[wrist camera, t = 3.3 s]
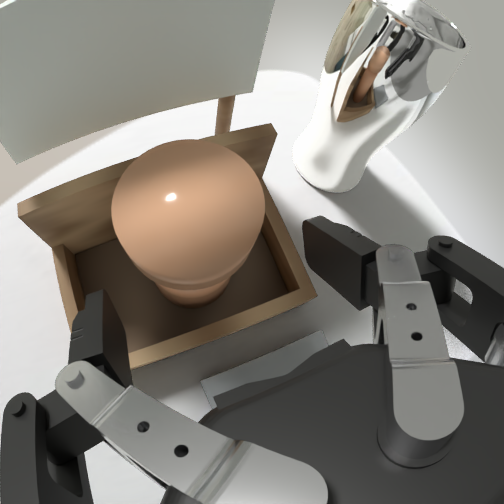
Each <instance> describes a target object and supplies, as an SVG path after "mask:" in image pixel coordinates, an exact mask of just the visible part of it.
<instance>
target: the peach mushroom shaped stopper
mask: <svg viewBox="0 0 504 504" xmlns="http://www.w3.org/2000/svg"><path fill="white" fill-rule="evenodd" d="M111 213H112V222H113V227H114V230H115V233H116V235H117V237H118V239H119V241H120V243H121V245H122V246H123V248H124V249H125V251H126V253H127V254H128V256H129V257H130V259H131V260H132V262H133V263H134V265H135V266H136V267H137V268H138V269H139V270H140V271H141V272H142V273H143V274H144V275H145V276H146V277H148V278H149V279H150V280H152V281H154V282H155V284H156V286H157V287H158V289H159V291H160V292H161V294H162V295H163V296H164V297H165V298H166V299H167V300H169V301H170V302H172V303H173V304H175V305H178V306H180V307H184V308H200V307H204V306H207V305H209V304H211V303H212V302H214V301H216V300H217V299H218V298H219V297H220V296H221V295H222V294H223V292H224V291H225V289H226V287H227V286H228V283H229V280H230V278H231V275H233V274H234V273H235V272H236V271H237V270H238V269H239V268H240V267H241V266H242V265H243V263H244V262H245V261H246V259H247V258H248V256H249V254H250V252H251V250H252V248H253V245H254V243H255V241H256V239H257V237H258V235H259V233H260V230H261V227H262V224H263V220H264V215H265V199H264V193H263V189H262V186H261V184H260V181H259V179H258V177H257V175H256V174H255V172H254V171H253V169H252V168H251V167H250V165H249V164H248V163H247V162H246V161H245V160H244V159H243V158H241V157H240V156H239V155H238V154H236V153H235V152H233V151H231V150H230V149H228V148H226V147H224V146H221V145H219V144H216V143H213V142H208V141H204V140H194V139H187V140H176V141H172V142H167V143H164V144H161V145H158V146H156V147H154V148H152V149H150V150H148V151H147V152H145V153H143V154H142V155H140V156H139V157H138V158H137V159H135V160H134V161H133V162H132V163H131V164H130V165H129V166H128V168H127V169H126V170H125V171H124V173H123V174H122V176H121V178H120V179H119V181H118V183H117V186H116V188H115V191H114V195H113V198H112V206H111Z"/></svg>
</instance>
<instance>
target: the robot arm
mask: <svg viewBox="0 0 504 504" xmlns="http://www.w3.org/2000/svg"><path fill="white" fill-rule="evenodd" d="M302 230H303V240H304V250H305V258H306V261H307V263H308V265H309V267H310V268H311V269H312V270H313V271H314V272H315V273H316V274H318V275H319V276H320V277H321V278H322V279H323V280H325V281H326V282H327V283H328V284H329V285H330V286H332V287H333V288H334V289H335V290H336V291H337V292H338V293H340V294H341V295H342V296H343V297H344V298H345V299H346V300H348V301H349V302H350V303H351V304H352V305H353V306H354V307H356V308H357V309H358V310H359V311H360V310H362V309H364V308H366V307H368V306H370V305H371V306H372V307H373V308H372V328H373V344H361V345H356V346H350V345H349V344H348V343H347V342H346V341H345V340H344V339H342V340H340V341H338V342H336V343H334V344H332V345H330V346H328V347H326V348H324V349H322V350H320V351H318V352H316V353H314V354H313V355H312V356H310V357H309V358H308V359H306V360H305V361H304V362H303V363H301V364H300V365H299V366H297V367H296V368H295V369H294V370H292V371H291V372H290V373H288V374H286V375H283V376H279V377H275V378H270V379H265V380H261V381H256V382H251V383H246V384H244V385H241V386H239V387H236V388H234V389H231V390H229V391H226V392H224V393H221V394H218V395H216V396H213V398H214V401H215V403H216V405H217V407H215V408H214V409H212V410H211V411H210V412H208V413H207V414H206V415H205V416H204V417H203V418H202V419H201V420H200V421H199V422H198V423H197V422H195V421H193V420H191V419H190V418H188V417H186V416H184V415H182V414H180V413H178V412H177V411H175V410H173V409H171V408H169V407H168V406H166V405H164V404H162V403H161V402H159V401H157V400H156V399H154V398H152V397H150V396H149V395H147V394H146V393H144V392H142V391H141V390H139V389H137V388H136V387H134V386H133V383H132V376H131V369H130V362H129V354H128V346H127V338H126V333H125V329H124V326H123V324H122V322H121V320H120V318H119V316H118V314H117V312H116V310H115V307H114V305H113V303H112V301H111V299H110V297H109V295H108V293H107V291H106V290H105V289H102V290H99V291H96V292H93V293H90V294H88V295H86V301H85V310H82V311H79V312H78V313H77V315H76V317H75V318H74V320H73V322H72V330H71V331H72V333H71V341H70V349H69V360H68V365H67V366H66V367H64V368H63V369H62V370H61V371H60V373H59V374H58V376H57V378H56V381H55V388H56V389H55V390H54V391H52V392H51V393H49V394H48V395H46V396H44V397H42V398H41V399H39V400H36V399H35V397H34V396H33V395H32V394H30V393H26V392H25V393H20V394H17V395H16V396H14V397H13V398H12V399H11V400H10V401H9V402H8V403H7V405H6V407H5V409H4V413H3V422H2V433H1V449H0V501H1V504H94V503H93V499H92V494H91V489H90V484H89V479H88V473H87V468H86V461H85V455H84V452H85V451H87V450H89V449H90V448H92V447H94V446H95V445H97V444H99V443H100V442H102V441H103V442H105V443H106V444H107V445H108V446H109V447H110V448H112V449H113V450H114V451H115V452H116V453H118V454H119V455H120V456H121V457H123V458H124V459H125V460H126V461H128V462H129V463H130V464H131V465H133V466H134V467H135V468H137V469H138V470H139V471H141V472H142V473H143V474H144V475H146V476H147V477H148V478H150V479H151V480H152V481H154V482H155V483H156V484H158V485H159V486H161V487H162V488H163V489H165V490H166V492H165V494H164V496H163V499H162V501H161V503H160V504H504V268H502V267H501V266H499V265H498V264H496V263H495V262H493V261H491V260H490V259H488V258H486V257H485V256H483V255H481V254H480V253H478V252H477V251H475V250H473V249H472V248H470V247H468V246H467V245H465V244H463V243H461V242H460V241H458V240H456V239H454V238H452V237H449V236H434V237H432V238H430V239H429V241H428V248H427V251H422V252H417V253H413V252H412V251H411V250H410V249H409V248H407V247H405V246H402V245H396V244H390V245H385V246H380V245H379V244H377V243H375V242H374V241H372V240H370V239H369V238H367V237H365V236H362V234H360V233H358V232H357V231H356V232H355V230H353V229H351V228H350V227H348V226H346V225H342V224H338V223H333V222H332V221H330V220H328V219H327V218H325V217H323V216H317V217H314V218H311V219H308V220H305V221H303V224H302ZM456 279H457V280H459V281H460V282H462V283H463V284H465V285H466V286H467V287H469V289H470V290H471V292H472V295H473V300H472V304H470V303H468V302H467V301H466V300H464V299H463V298H462V297H460V296H459V295H458V294H456V293H455V292H453V291H454V286H455V282H456ZM442 325H443V326H444V327H445V328H446V329H447V330H449V331H450V332H451V333H452V334H453V335H454V336H455V337H457V338H458V339H459V340H460V341H461V342H462V343H463V344H465V345H466V346H467V347H468V348H469V349H470V350H471V351H472V352H474V353H475V354H476V355H477V356H478V357H479V358H480V359H481V360H482V361H483V362H485V363H480V362H474V361H468V360H462V359H456V358H450V357H449V353H448V349H447V345H446V340H445V336H444V332H443V328H442Z"/></svg>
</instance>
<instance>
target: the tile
mask: <svg viewBox="0 0 504 504" xmlns="http://www.w3.org/2000/svg"><path fill="white" fill-rule="evenodd" d="M328 346H329V345H328V343H327V340H326V338H325V336H324V333H323V331H322V330H320V331H316V332H314V333H312V334H310V335H308V336H306V337H303V338H301V339H299V340H297V341H295V342H293V343H290V344H288V345H286V346H284V347H281V348H279V349H277V350H275V351H272V352H270V353H268V354H265V355H263V356H261V357H258V358H256V359H254V360H251V361H249V362H246V363H244V364H241V365H239V366H237V367H234V368H232V369H229V370H227V371H224V372H221V373H219V374H216V375H214V376H211V377H208V378H206V379H203V380H200V382H201V385H202V387H203V389H204V392H205V394H206V396H207V398H208V401H209V403H210V405H211V407H212V409H214V408H215V407H217V405H216V403H215V401H214V398H213V396H216V395H218V394H221V393H224V392H226V391H229V390H231V389H234V388H236V387H239V386H241V385H244V384H246V383H251V382H256V381H261V380H265V379H270V378H275V377H279V376H283V375H286V374H288V373H290V372H291V371H292V370H294V369H295V368H296V367H297V366H299V365H300V364H301V363H303V362H304V361H305V360H306V359H308V358H309V357H310V356H312V355H313V354H314V353H316V352H318V351H320V350H322V349H324V348H326V347H328Z"/></svg>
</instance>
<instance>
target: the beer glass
mask: <svg viewBox="0 0 504 504" xmlns="http://www.w3.org/2000/svg"><path fill="white" fill-rule="evenodd" d="M469 52H470V44H469V42H468V40H467V39H466V37H465V36H464V35H463V33H462V32H461V31H460V30H459V29H458V28H457V27H456V26H455V25H454V24H453V23H452V22H451V21H450V20H449V19H448V18H447V17H446V16H444V15H443V14H442V13H441V12H439V11H438V10H437V9H435V8H434V7H432V6H431V5H430V4H428V3H426V2H425V1H423V0H352V1H351V3H350V4H349V6H348V8H347V10H346V12H345V14H344V16H343V17H342V19H341V21H340V23H339V25H338V27H337V29H336V32H335V34H334V36H333V38H332V41H331V44H330V46H329V49H328V51H327V54H326V58H325V62H324V66H323V70H322V75H321V79H320V84H319V90H318V95H317V101H316V105H315V110H314V113H313V116H312V118H311V121H310V123H309V125H308V126H307V127H306V129H305V130H304V131H303V132H302V133H301V135H300V136H299V137H298V138H297V140H296V141H295V143H294V146H293V150H292V157H293V162H294V164H295V167H296V169H297V170H298V172H299V173H300V175H301V176H302V177H303V178H304V179H305V180H306V181H307V182H309V183H310V184H311V185H313V186H315V187H316V188H318V189H321V190H323V191H327V192H332V193H342V192H346V191H349V190H351V189H352V188H354V187H355V186H356V185H357V184H358V183H359V181H360V179H361V177H362V175H363V173H364V170H365V168H366V166H367V164H368V163H369V161H370V160H371V158H372V157H373V156H374V155H375V154H376V153H377V152H378V151H380V150H381V149H382V148H383V147H384V146H386V145H387V144H388V143H390V142H391V141H392V140H393V139H395V138H396V137H398V136H399V135H400V134H401V133H403V132H404V131H405V130H406V129H408V128H409V127H410V126H411V125H413V124H414V123H415V122H416V121H417V120H418V119H419V118H420V117H422V116H423V115H424V113H425V112H426V111H427V110H428V109H429V108H430V107H431V106H432V105H433V104H434V102H435V101H436V100H437V99H438V97H439V96H440V95H441V93H442V92H443V90H444V89H445V88H446V86H447V85H448V84H449V82H450V80H451V79H452V77H453V76H454V74H455V73H456V71H457V70H458V68H459V66H460V65H461V63H462V61H463V60H464V58H465V57H466V55H467V54H468V53H469Z"/></svg>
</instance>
